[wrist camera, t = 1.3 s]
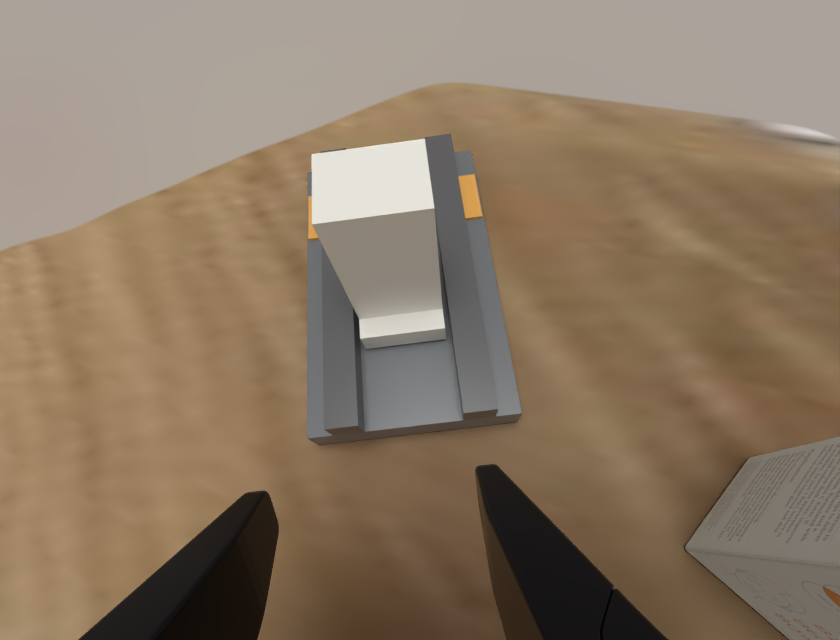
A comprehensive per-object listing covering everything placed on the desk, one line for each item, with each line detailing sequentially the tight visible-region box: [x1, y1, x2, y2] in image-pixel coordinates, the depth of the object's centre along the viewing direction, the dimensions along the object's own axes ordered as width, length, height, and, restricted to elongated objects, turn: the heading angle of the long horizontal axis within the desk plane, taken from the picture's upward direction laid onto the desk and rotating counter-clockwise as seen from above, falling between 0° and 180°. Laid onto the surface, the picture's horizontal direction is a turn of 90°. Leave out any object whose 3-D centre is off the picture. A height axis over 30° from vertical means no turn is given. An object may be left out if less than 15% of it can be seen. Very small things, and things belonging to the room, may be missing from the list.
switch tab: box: [312, 139, 446, 349], centre depth 19 cm, size 5×4×9 cm
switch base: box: [307, 134, 522, 445], centre depth 25 cm, size 16×10×4 cm, turn 6°
